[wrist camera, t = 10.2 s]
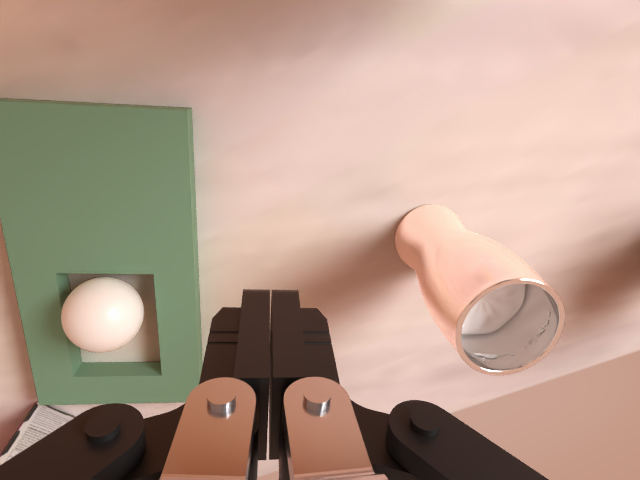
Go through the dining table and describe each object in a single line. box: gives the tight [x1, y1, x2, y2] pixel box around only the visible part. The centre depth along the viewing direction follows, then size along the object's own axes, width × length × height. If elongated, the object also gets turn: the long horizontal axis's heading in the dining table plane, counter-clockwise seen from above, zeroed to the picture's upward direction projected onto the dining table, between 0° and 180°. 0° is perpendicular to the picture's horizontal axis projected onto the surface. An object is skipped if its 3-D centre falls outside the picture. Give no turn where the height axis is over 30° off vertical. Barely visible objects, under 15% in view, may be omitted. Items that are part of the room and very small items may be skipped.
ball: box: [61, 277, 144, 353], centre depth 36 cm, size 6×6×6 cm
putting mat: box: [0, 98, 203, 405], centre depth 37 cm, size 26×14×2 cm, turn 177°
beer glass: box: [395, 204, 565, 375], centre depth 33 cm, size 7×7×15 cm
